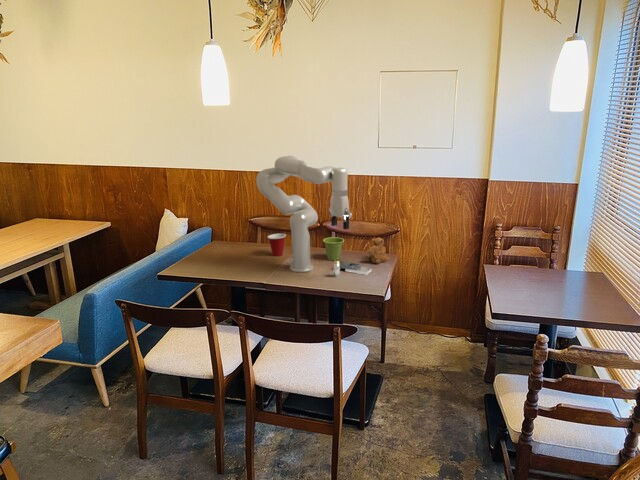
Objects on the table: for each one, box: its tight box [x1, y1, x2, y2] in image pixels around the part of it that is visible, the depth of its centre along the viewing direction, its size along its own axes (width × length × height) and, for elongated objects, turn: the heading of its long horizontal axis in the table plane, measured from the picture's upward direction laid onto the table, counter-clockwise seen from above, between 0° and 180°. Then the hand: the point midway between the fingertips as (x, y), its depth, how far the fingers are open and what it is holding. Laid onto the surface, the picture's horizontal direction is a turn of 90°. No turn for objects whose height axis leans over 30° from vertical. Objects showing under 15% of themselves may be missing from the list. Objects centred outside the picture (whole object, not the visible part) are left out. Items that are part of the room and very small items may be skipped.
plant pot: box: [322, 236, 345, 262], centre depth 275 cm, size 12×12×11 cm
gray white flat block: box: [339, 260, 373, 276], centre depth 257 cm, size 18×7×3 cm, turn 62°
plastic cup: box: [267, 233, 287, 257], centre depth 283 cm, size 11×11×12 cm
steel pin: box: [333, 260, 341, 278], centre depth 248 cm, size 3×3×8 cm
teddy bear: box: [366, 237, 390, 264], centre depth 270 cm, size 10×14×13 cm
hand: (340, 227), depth 242 cm, fingers open, 9 cm apart
